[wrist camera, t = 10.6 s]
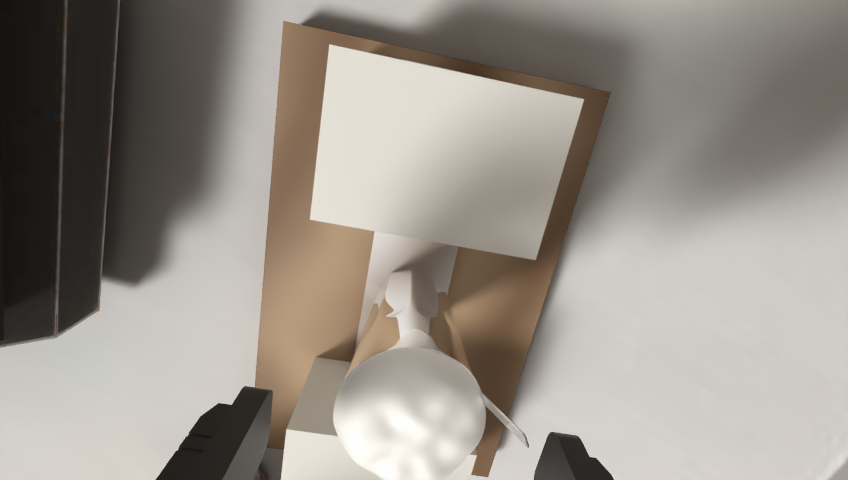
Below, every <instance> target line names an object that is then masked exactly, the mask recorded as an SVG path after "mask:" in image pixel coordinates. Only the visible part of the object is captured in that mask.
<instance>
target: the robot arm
mask: <svg viewBox="0 0 848 480" xmlns="http://www.w3.org/2000/svg"><path fill="white" fill-rule="evenodd" d="M272 400H273V391H272V390H268V389H261V388H254V387H247V386H245V387H243V388H242V390H241V391H240V393H239V394H238V396H237V398H236V399H235V401H234V402H233V404H232V405H227V404H220V403H218V404H217V405H216V406H214V407H213V408H212V409H210V410H209V411H207V412H206V413H205V414H203V415H202V416H201V417H200V418H199V420H198V421H197V422H196V424H195V425H194V427H193V428H192V429H191V431H190V432H189V435H188V437H186V438H185V439H184V441H183V442H182V444H181V445H180V446H179V449H178V451H176V452H175V453H174V455H173V456H172V458H171V459H170V460H169V462H168V463H167V465H166V466H165V468H164V469H163V470H162V472H161V473H160V475H159V476H158V477H157V479H156V480H253V479H254V477H255V474H256V472H257V470H258V468H259V465H260V463H261V461H262V459H263V456H264V453H265V451H266V447H267V444H268V439H269V434H270V423H271V412H272ZM534 480H614V479H613V477H612V475H611V474H610V473H609V472H608V471H607V470H606V469H605V467H604V466H603V465H602V464H601V463H600V462H599V461H598V460H597V459H596V458H592V457H589V455H588V453H587V451H586V449H585V447H584V445H583V443H582V441H581V439H580V438H579V437H578V436H576V435H569V434H562V433H555V432H551V433H550V434H549V435H548V437H547V440H546V442H545V445H544V448H543V451H542V453H541V456H540V459H539V462H538V465H537V467H536V470H535V475H534Z"/></svg>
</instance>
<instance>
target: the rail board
mask: <svg viewBox="0 0 848 480" xmlns="http://www.w3.org/2000/svg"><path fill="white" fill-rule="evenodd" d="M329 44H330V45H335V46H339V47H344V48H349V49H353V50H358V51H363V52H367V53H372V54H377V55H381V56H386V57H390V58H395V59H400V60H404V61H409V62H414V63H418V64H423V65H428V66H432V67H437V68H441V69H446V70H451V71H455V72H460V73H465V74H469V75H474V76H479V77H483V78H488V79H492V80H497V81H502V82H506V83H511V84H516V85H520V86H525V87H530V88H534V89H539V90H543V91H548V92H553V93H557V94H562V95H567V96H571V97H576V98H581V99H584V102H583V105H582V108H581V112H580V115H579V118H578V122H577V125H576V128H575V132H574V135H573V138H572V142H571V145H570V148H569V152H568V155H567V158H566V161H565V165H564V168H563V171H562V175H561V178H560V181H559V185H558V188H557V191H556V195H555V198H554V201H553V205H552V208H551V211H550V215H549V218H548V221H547V224H546V228H545V231H544V234H543V238H542V241H541V244H540V248H539V251H538V254H537V258H536V260H531V259H526V258H520V257H515V256H509V255H503V254H498V253H492V252H487V251H481V250H476V249H470V248H465V247H459V246H454V245H448V244H442V243H437V242H431V241H426V240H420V239H415V238H409V237H404V236H398V235H392V234H387V233H381V232H376V231H370V230H365V229H359V228H354V227H348V226H343V225H337V224H331V223H326V222H320V221H315V220H310V213H311V204H312V195H313V186H314V177H315V168H316V159H317V150H318V141H319V133H320V124H321V115H322V106H323V97H324V88H325V79H326V70H327V61H328V52H329ZM610 93H611V92H606V91H602V90H597V89H593V88H588V87H584V86H579V85H574V84H570V83H565V82H561V81H556V80H551V79H547V78H542V77H538V76H533V75H529V74H524V73H519V72H515V71H510V70H506V69H501V68H497V67H492V66H487V65H483V64H478V63H474V62H469V61H464V60H460V59H455V58H451V57H446V56H442V55H437V54H432V53H428V52H423V51H419V50H414V49H409V48H405V47H400V46H396V45H391V44H387V43H382V42H377V41H373V40H368V39H364V38H359V37H355V36H350V35H345V34H341V33H336V32H332V31H327V30H322V29H318V28H313V27H309V26H304V25H300V24H295V23H290V22H286V21H284V22H283V34H282V47H281V60H280V73H279V85H278V98H277V111H276V124H275V136H274V149H273V162H272V175H271V187H270V200H269V213H268V226H267V238H266V251H265V264H264V277H263V289H262V302H261V315H260V328H259V340H258V353H257V366H256V379H255V388H261V389H268V390H272V391H273V400H272V412H271V423H270V434H269V439H268V444H267V448H275V449H282V450H284V446H285V437H286V429H287V426H288V424H289V421H290V419H291V416H292V414H293V412H294V409H295V407H296V404H297V402H298V399H299V397H300V394H301V392H302V389H303V387H304V384H305V382H306V379H307V377H308V374H309V372H310V370H311V367H312V365H313V362H314V360H315V357H319V358H326V359H333V360H339V361H346V362H351V361H352V358H353V356H354V354H355V351H356V349H357V347H358V344H359V342H360V339H361V336H362V333H363V331H364V328H365V325H366V323H367V320H368V317H369V315H370V312H371V309H372V307H373V304H374V301H375V299H376V296H377V293H378V291H379V289H380V287H381V286H382V285H383V283H384V282H385V281H386V280H387V278H388V277H389V276H390V274H391V273H393V272H396V271H399V270H403V269H406V268H409V267H414V268H418V269H421V270H424V271H428V272H431V273H432V274H433V275H434V276H435V278H436V279H437V280H438V281H439V283H440V284H441V285H442V287H443V288H444V290H445V293H446V295H447V298H448V301H449V304H450V307H451V310H452V313H453V316H454V319H455V322H456V325H457V328H458V331H459V334H460V337H461V340H462V343H463V346H464V349H465V351H466V354H467V356H468V359H469V361H470V364H471V366H472V369H473V371H474V374H475V377H476V379H477V382H478V384H479V387H480V389H481V392H482V393H483V394H484V395H485V396H486V397H487V398H488V399H489V400H490V401H491V402H492V403H493V404H494V405H495V406H496V407H497V408H498V409H499V410H501V411H502V412H503V413H504V414H505V415H506V416H508V413H509V410H510V406H511V403H512V400H513V397H514V394H515V391H516V388H517V385H518V381H519V378H520V375H521V372H522V369H523V366H524V363H525V359H526V356H527V353H528V350H529V347H530V344H531V341H532V338H533V334H534V331H535V328H536V325H537V322H538V319H539V316H540V312H541V309H542V306H543V303H544V300H545V297H546V294H547V291H548V287H549V284H550V281H551V278H552V275H553V272H554V269H555V265H556V262H557V259H558V256H559V253H560V250H561V247H562V244H563V240H564V237H565V234H566V231H567V228H568V225H569V222H570V219H571V215H572V212H573V209H574V206H575V203H576V200H577V197H578V193H579V190H580V187H581V184H582V181H583V178H584V175H585V172H586V168H587V165H588V162H589V159H590V156H591V153H592V150H593V146H594V143H595V140H596V137H597V134H598V131H599V128H600V125H601V121H602V118H603V115H604V112H605V109H606V106H607V103H608V99H609V96H610ZM485 409H486V423H485V429H484V433H483V436H482V438H481V440H480V442H479V443H478V445H477V446H476V454H477V457H476V460H475V463H474V467H473V470H472V473H471V475H476V476H484V477H488V475H489V472H490V469H491V466H492V463H493V460H494V457H495V453H496V450H497V447H498V444H499V441H500V438H501V435H502V432H503V428H504V424H503V423H502V422H501V421H500V420H499V419H498V418H497V417H496V416H495V415H494V414H493V413H492V412H491V411H490V410H489V409H488V408H487V407H486V406H485Z"/></svg>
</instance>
